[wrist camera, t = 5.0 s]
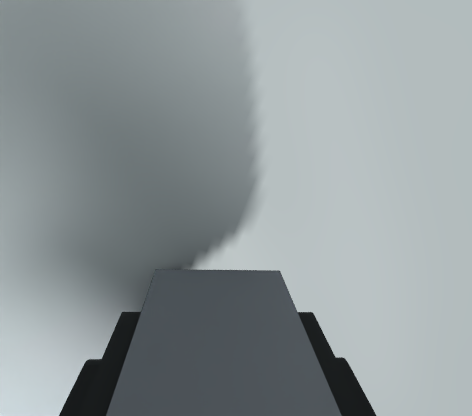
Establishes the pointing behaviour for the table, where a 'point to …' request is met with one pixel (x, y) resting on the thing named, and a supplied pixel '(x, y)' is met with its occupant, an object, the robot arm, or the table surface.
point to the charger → (220, 350)
